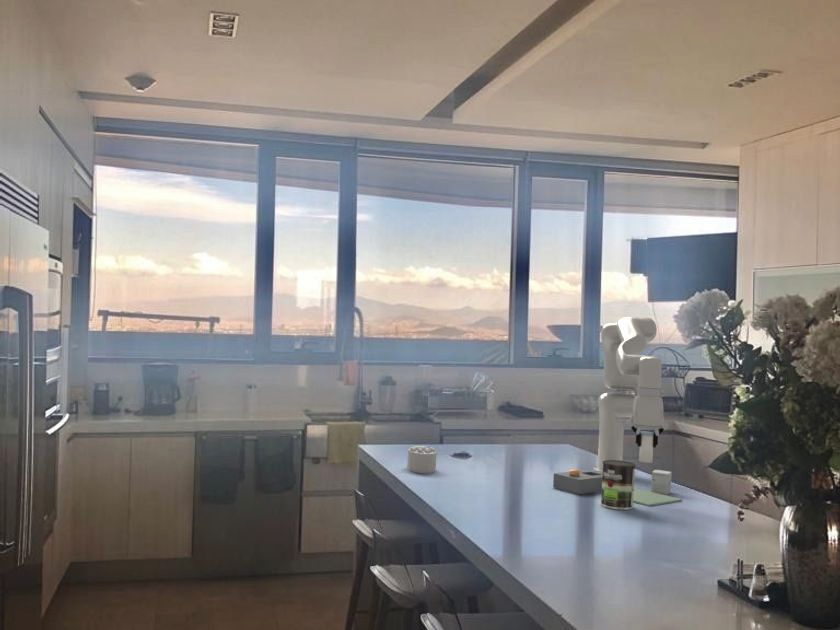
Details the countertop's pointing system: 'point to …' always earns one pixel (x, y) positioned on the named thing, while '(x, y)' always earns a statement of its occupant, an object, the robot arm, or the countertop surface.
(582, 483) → the block
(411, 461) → the lumpy-topped squat cylinder
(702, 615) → the countertop surface
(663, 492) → the product box
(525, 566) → the countertop surface
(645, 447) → the cartridge
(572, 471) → the orange egg
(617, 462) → the coffee can
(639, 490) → the mat
